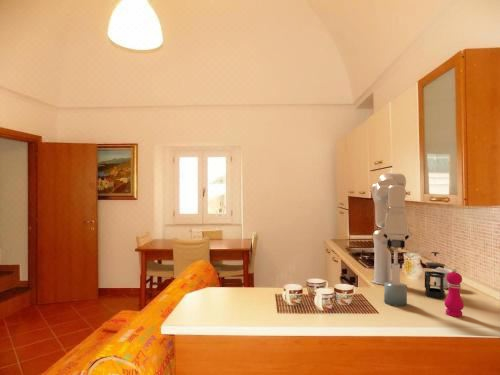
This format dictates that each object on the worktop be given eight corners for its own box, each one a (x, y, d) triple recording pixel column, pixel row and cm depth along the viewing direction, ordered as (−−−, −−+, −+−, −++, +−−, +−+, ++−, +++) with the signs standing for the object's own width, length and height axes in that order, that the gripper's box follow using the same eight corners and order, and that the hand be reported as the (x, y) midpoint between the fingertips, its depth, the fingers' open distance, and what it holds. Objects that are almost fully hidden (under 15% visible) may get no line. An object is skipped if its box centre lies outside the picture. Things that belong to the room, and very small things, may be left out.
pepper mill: (454, 311, 154) (454, 266, 155) (467, 317, 147) (468, 270, 148) (440, 312, 153) (440, 267, 153) (453, 318, 146) (453, 270, 146)
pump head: (401, 267, 162) (401, 240, 163) (390, 266, 164) (390, 239, 165) (401, 264, 170) (401, 238, 170) (390, 263, 172) (390, 238, 172)
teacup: (454, 285, 204) (454, 268, 204) (455, 291, 191) (455, 273, 191) (431, 282, 209) (431, 266, 210) (431, 288, 196) (431, 270, 196)
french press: (450, 298, 175) (451, 253, 176) (435, 299, 173) (435, 253, 174) (433, 292, 187) (433, 250, 187) (418, 293, 184) (418, 250, 185)
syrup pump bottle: (407, 307, 158) (407, 267, 159) (383, 304, 162) (384, 265, 163) (406, 301, 168) (406, 263, 168) (384, 299, 171) (384, 261, 172)
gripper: (377, 210, 166) (376, 248, 166) (416, 211, 160) (415, 250, 159) (377, 210, 173) (377, 246, 173) (415, 211, 167) (414, 248, 166)
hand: (395, 248), depth 166 cm, fingers closed on pump head, 5 cm apart
